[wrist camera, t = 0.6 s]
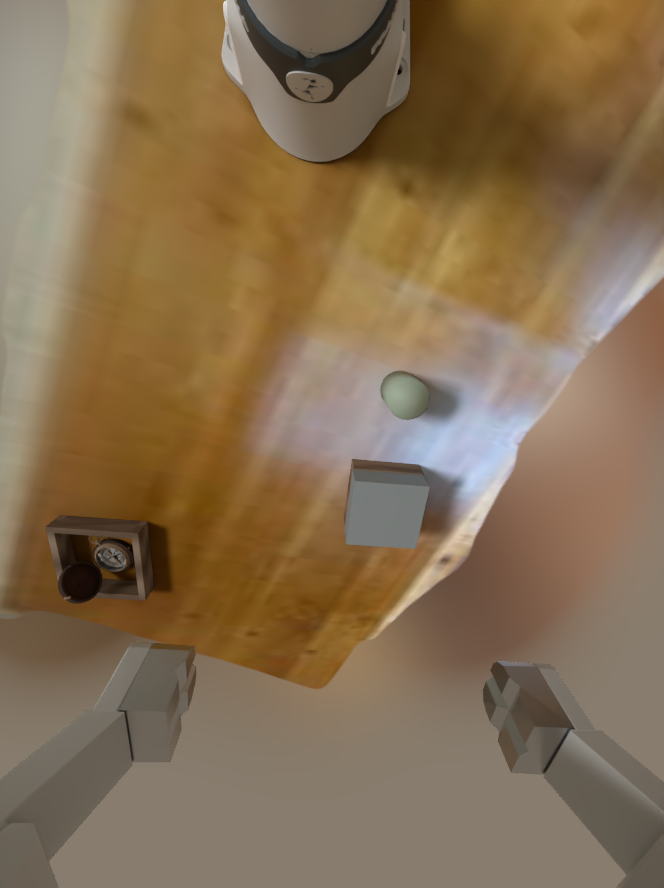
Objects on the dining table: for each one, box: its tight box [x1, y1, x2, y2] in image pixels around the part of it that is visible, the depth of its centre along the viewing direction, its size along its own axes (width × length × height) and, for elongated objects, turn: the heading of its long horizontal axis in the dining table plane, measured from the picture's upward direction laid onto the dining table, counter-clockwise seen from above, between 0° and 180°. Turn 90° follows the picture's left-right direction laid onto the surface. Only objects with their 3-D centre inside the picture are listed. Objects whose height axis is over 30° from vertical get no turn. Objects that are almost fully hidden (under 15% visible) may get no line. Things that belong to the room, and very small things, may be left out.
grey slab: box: [345, 469, 430, 549], centre depth 49 cm, size 10×10×4 cm
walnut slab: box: [344, 459, 424, 522], centre depth 52 cm, size 10×10×4 cm
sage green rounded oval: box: [380, 371, 430, 420], centre depth 45 cm, size 5×5×6 cm
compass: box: [58, 536, 134, 603], centre depth 52 cm, size 8×8×7 cm
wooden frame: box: [46, 515, 154, 600], centre depth 54 cm, size 13×13×3 cm
